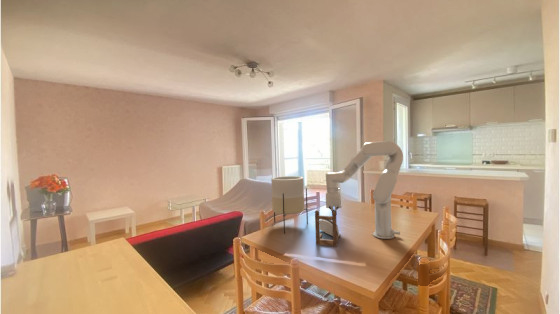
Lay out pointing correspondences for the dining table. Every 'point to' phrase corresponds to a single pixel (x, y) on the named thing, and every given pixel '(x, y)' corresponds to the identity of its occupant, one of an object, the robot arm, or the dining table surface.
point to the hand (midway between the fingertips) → (334, 216)
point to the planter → (288, 196)
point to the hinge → (327, 227)
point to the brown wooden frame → (319, 235)
